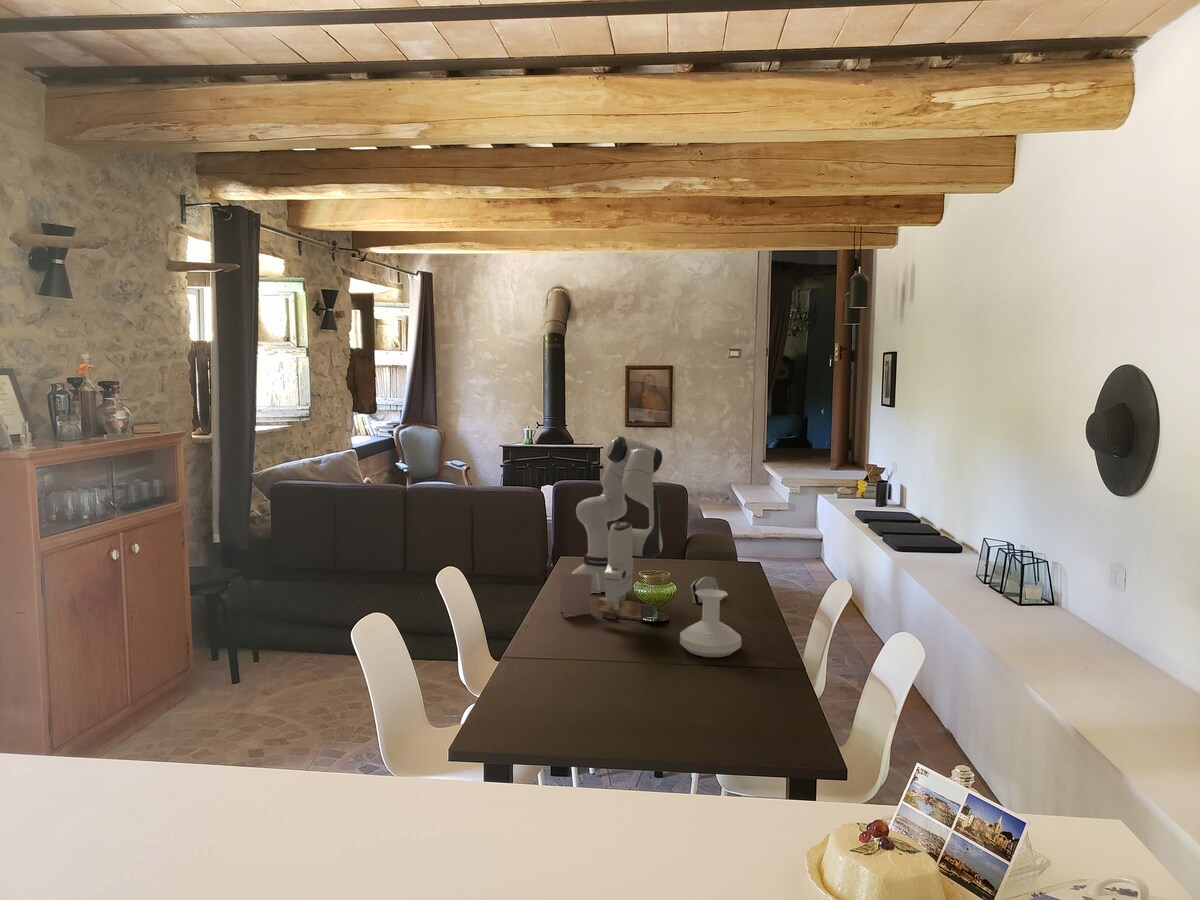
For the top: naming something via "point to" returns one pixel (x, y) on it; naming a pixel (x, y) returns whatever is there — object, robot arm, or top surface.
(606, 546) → the robot arm
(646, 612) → the end cap frame
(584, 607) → the greeting card
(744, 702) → the top surface
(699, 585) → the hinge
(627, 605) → the oak slat
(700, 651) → the candle holder
